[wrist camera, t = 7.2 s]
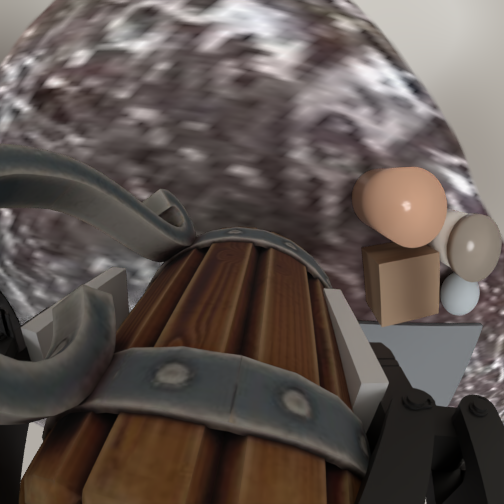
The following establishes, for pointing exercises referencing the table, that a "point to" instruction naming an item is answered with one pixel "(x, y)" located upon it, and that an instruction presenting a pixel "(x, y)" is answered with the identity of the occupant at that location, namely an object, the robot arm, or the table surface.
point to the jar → (468, 244)
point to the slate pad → (429, 353)
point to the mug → (182, 363)
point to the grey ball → (459, 295)
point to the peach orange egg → (401, 204)
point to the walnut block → (401, 282)
